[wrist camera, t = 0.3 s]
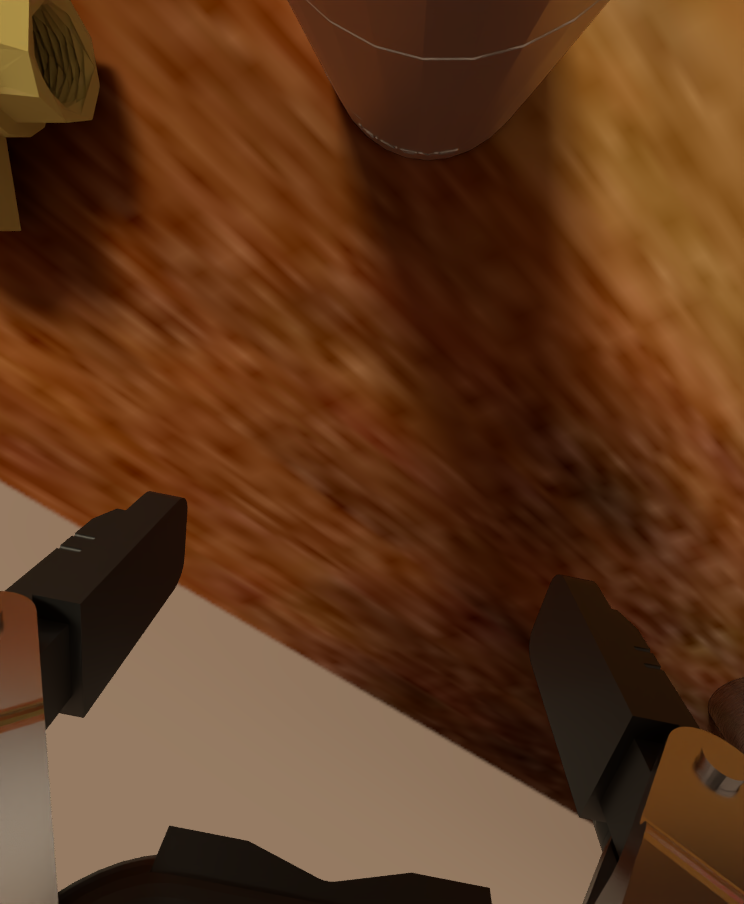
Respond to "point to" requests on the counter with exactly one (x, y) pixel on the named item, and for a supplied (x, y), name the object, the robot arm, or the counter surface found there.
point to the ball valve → (40, 79)
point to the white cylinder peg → (729, 712)
